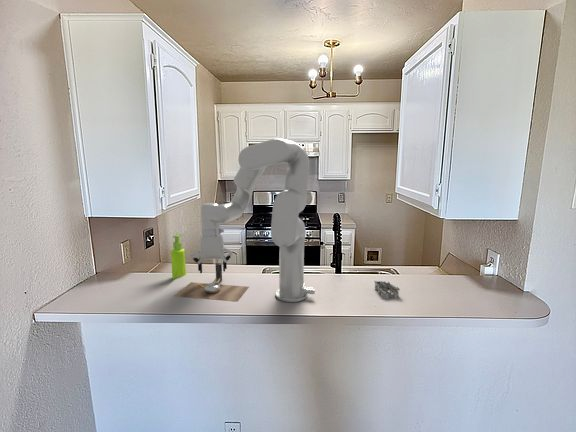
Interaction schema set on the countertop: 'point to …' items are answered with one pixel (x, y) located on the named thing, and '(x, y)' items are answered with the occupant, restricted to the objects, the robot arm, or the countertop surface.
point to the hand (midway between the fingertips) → (212, 271)
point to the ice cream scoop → (215, 281)
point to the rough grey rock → (386, 289)
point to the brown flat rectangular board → (224, 294)
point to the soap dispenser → (178, 259)
